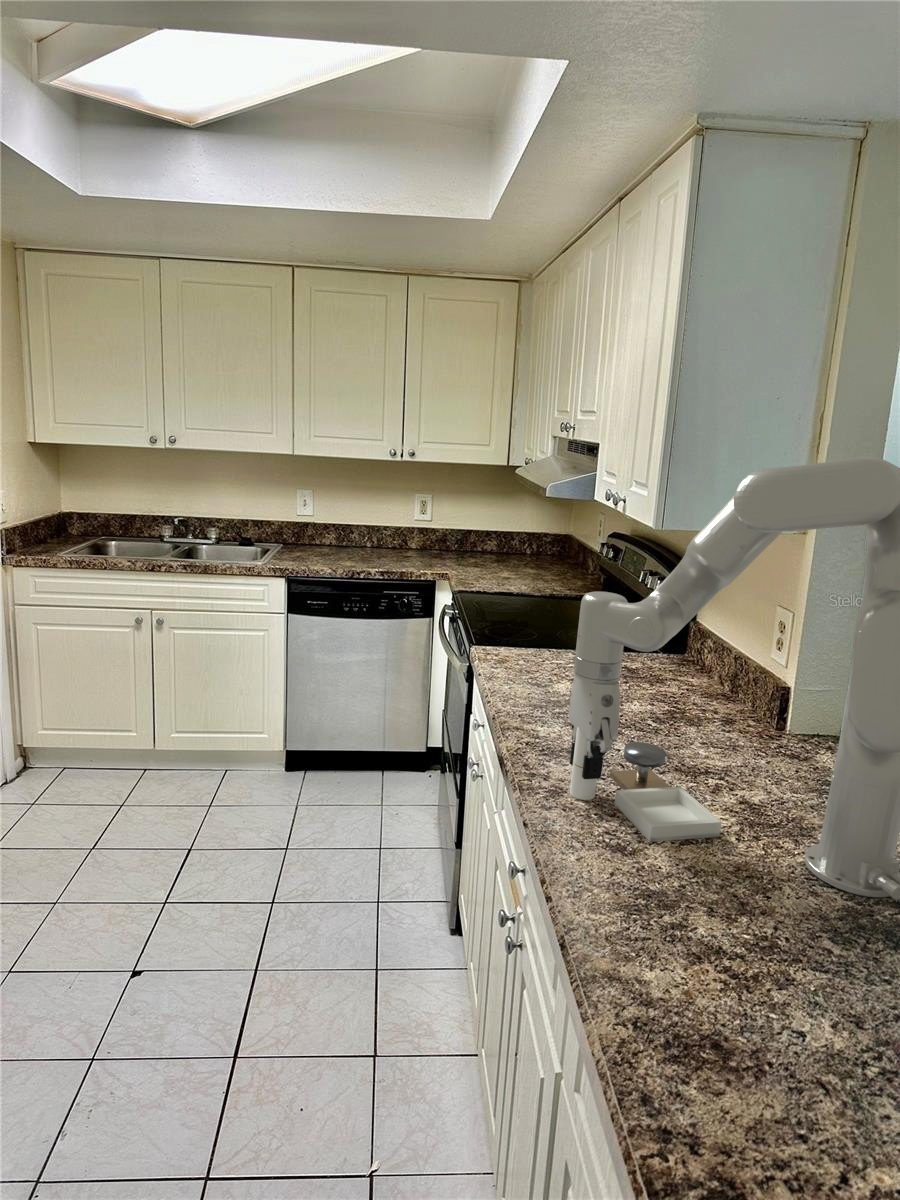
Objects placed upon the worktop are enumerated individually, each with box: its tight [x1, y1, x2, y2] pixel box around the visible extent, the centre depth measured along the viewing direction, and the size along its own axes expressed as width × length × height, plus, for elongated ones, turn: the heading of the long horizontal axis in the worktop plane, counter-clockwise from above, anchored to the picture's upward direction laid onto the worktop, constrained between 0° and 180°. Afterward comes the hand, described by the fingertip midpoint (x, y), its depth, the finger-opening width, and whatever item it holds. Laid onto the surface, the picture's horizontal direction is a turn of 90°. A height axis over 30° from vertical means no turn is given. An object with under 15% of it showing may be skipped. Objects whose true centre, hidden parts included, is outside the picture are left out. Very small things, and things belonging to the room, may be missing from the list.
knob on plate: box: [609, 741, 671, 790], centre depth 135 cm, size 8×8×7 cm
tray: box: [613, 786, 722, 843], centre depth 124 cm, size 12×12×2 cm
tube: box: [569, 727, 600, 801], centre depth 129 cm, size 4×4×15 cm
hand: (585, 770), depth 130 cm, fingers closed on tube, 4 cm apart
